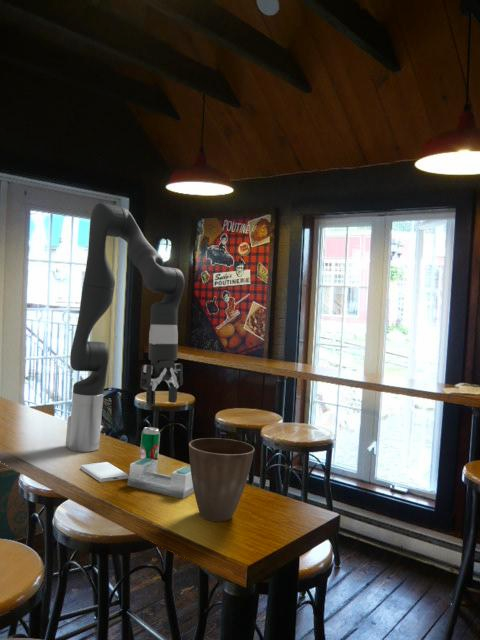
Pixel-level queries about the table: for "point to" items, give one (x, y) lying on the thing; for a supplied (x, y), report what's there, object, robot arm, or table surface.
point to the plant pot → (219, 475)
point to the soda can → (150, 443)
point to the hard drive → (104, 471)
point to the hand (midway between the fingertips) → (161, 403)
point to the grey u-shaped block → (160, 479)
